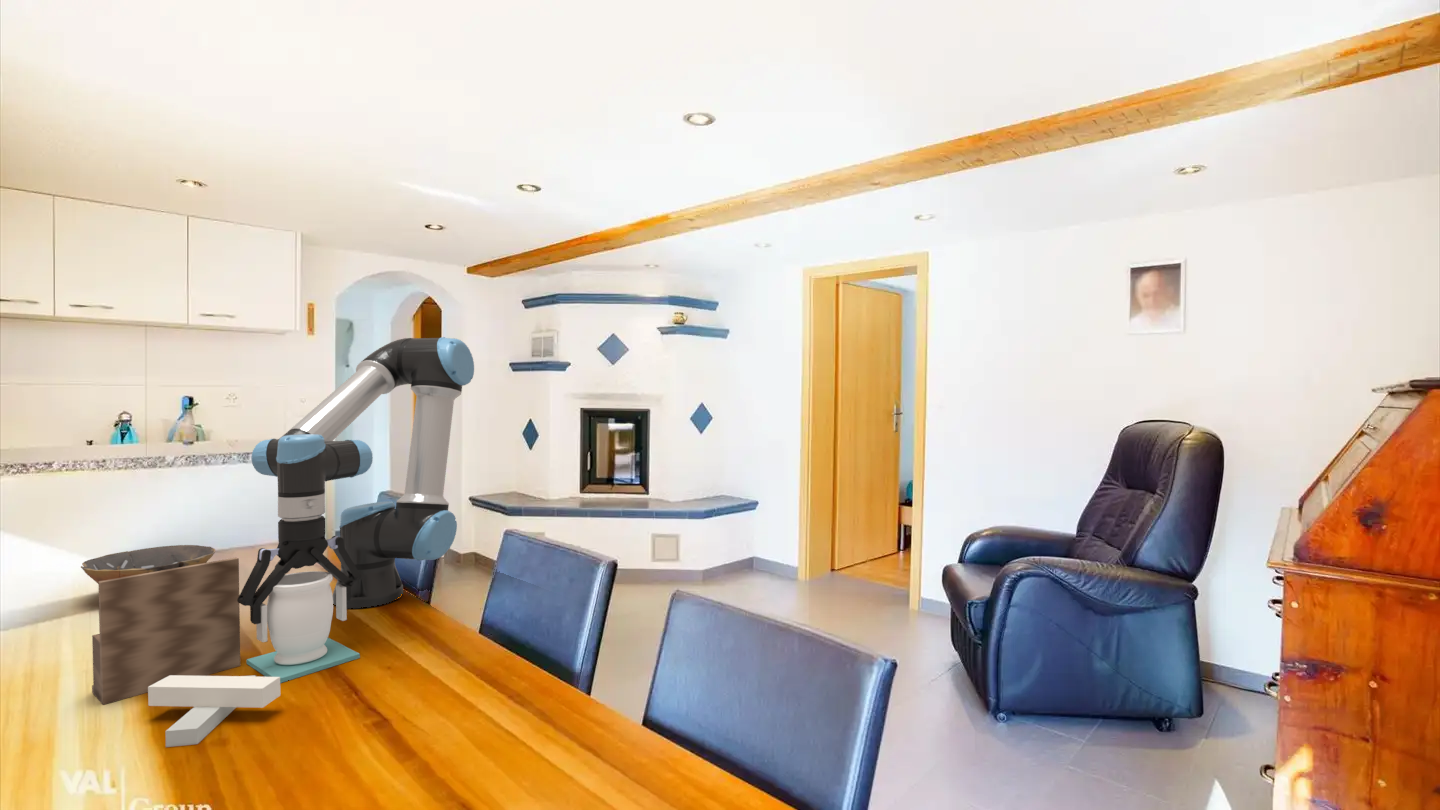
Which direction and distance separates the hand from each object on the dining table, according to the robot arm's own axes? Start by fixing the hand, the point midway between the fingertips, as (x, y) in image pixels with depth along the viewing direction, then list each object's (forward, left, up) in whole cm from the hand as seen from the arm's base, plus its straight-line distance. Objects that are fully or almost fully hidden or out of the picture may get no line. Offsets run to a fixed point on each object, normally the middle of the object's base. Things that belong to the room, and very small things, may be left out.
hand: (303, 629), depth 125 cm
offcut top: (+17, +11, -4) cm, 21 cm away
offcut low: (+17, +11, -7) cm, 22 cm away
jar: (0, 0, -5) cm, 5 cm away
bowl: (+6, -71, -6) cm, 72 cm away
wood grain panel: (+18, -10, -6) cm, 21 cm away
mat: (0, 0, -6) cm, 6 cm away
